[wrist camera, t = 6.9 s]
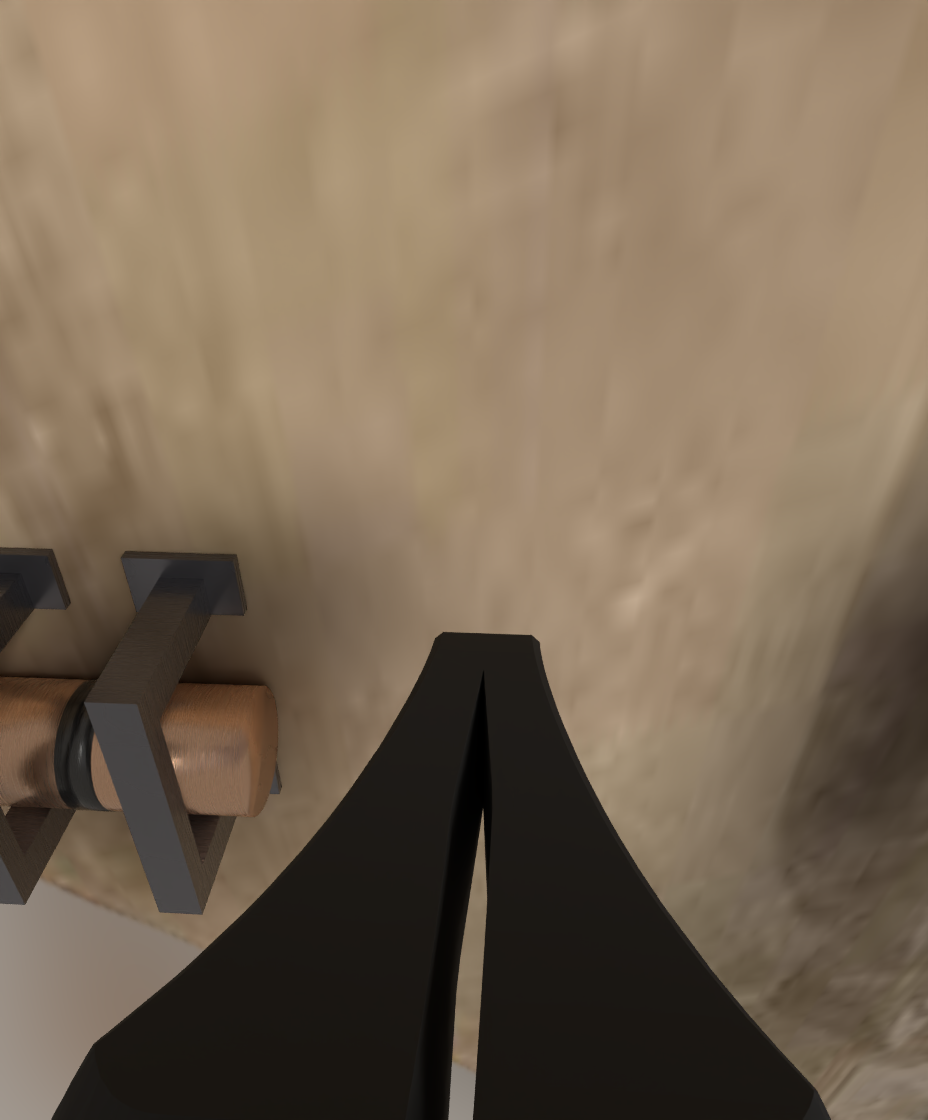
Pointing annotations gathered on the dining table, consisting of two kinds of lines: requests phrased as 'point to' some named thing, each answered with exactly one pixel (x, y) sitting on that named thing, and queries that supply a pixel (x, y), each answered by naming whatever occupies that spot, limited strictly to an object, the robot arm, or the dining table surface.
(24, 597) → the collar
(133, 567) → the dark grey support bracket
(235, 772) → the tube
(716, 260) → the dining table surface
